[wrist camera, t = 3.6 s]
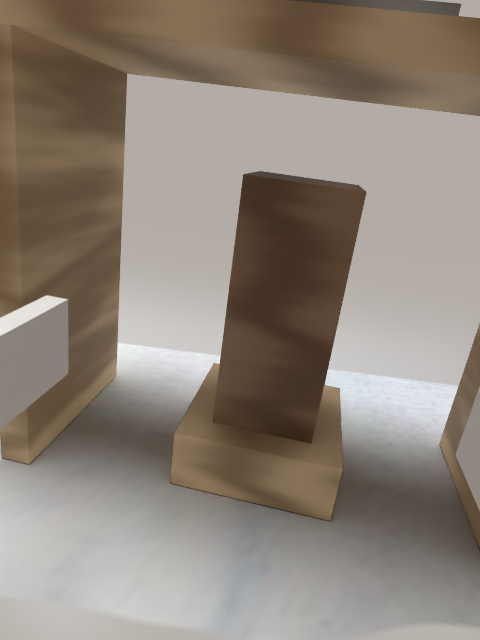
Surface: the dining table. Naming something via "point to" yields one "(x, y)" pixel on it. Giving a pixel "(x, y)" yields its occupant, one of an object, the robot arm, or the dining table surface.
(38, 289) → the wooden side table
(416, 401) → the dining table surface
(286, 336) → the walnut block
